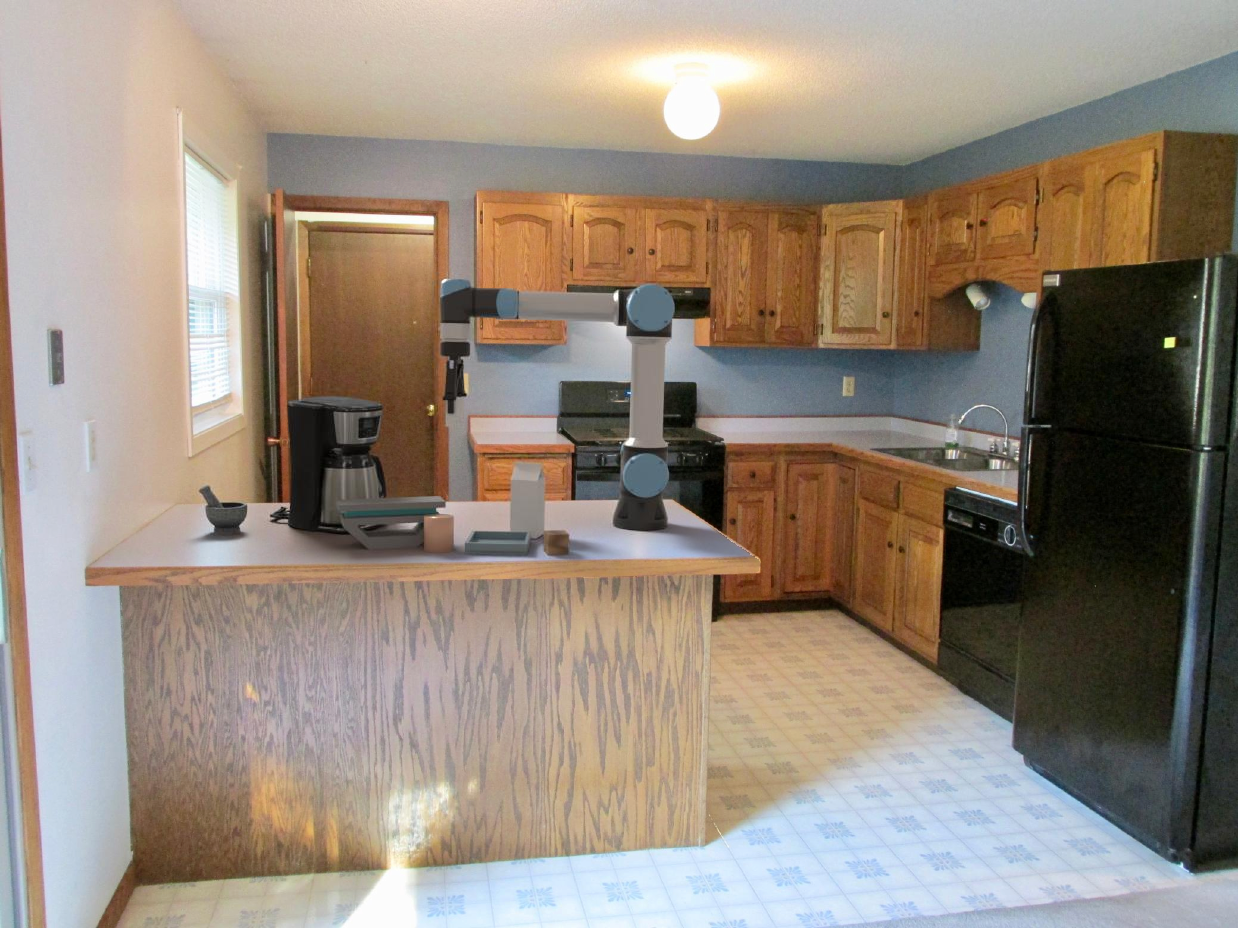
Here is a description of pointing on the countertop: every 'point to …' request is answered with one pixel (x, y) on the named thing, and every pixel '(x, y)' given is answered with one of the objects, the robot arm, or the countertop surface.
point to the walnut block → (556, 542)
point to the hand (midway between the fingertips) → (454, 424)
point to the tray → (498, 542)
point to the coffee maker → (331, 460)
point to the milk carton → (527, 499)
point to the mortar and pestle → (223, 513)
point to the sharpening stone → (388, 519)
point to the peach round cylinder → (438, 533)
